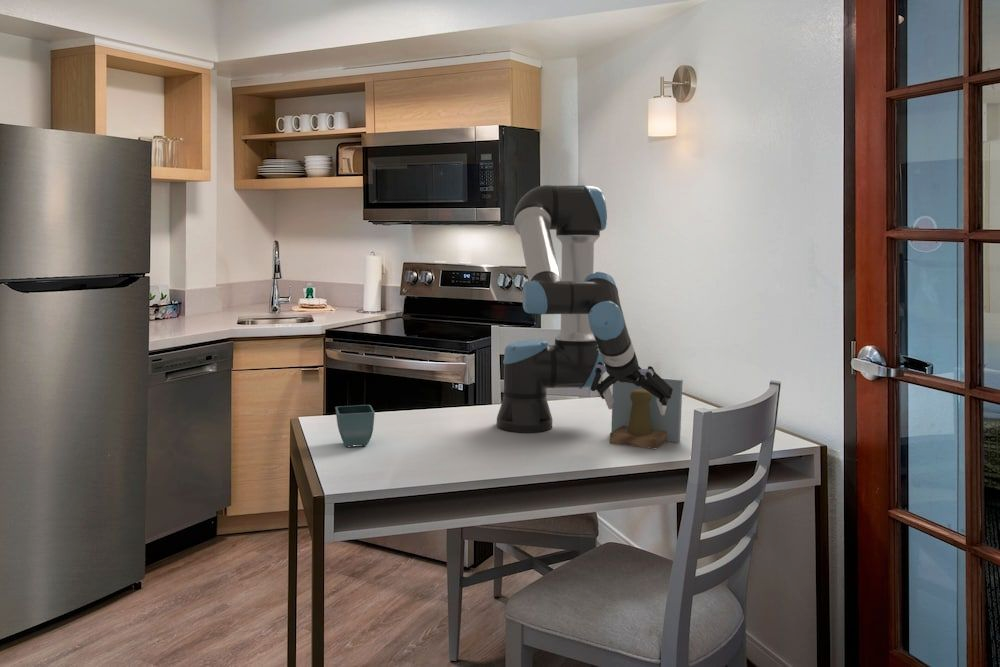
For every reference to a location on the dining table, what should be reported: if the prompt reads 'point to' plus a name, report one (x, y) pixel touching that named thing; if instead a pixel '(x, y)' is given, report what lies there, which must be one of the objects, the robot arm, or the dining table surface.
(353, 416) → the flower pot
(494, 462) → the dining table surface
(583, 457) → the dining table surface
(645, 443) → the brown flat block
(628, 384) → the back board
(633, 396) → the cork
